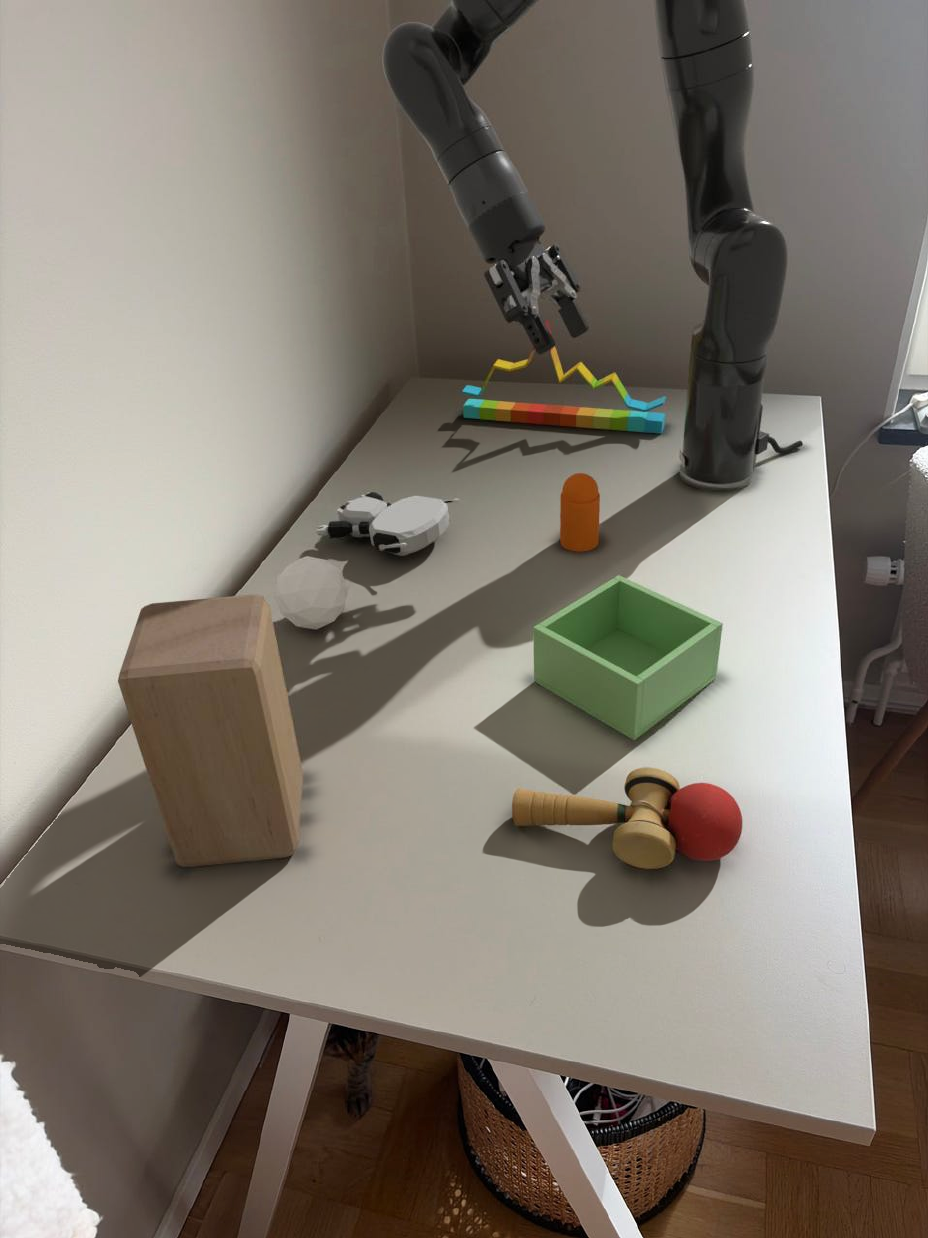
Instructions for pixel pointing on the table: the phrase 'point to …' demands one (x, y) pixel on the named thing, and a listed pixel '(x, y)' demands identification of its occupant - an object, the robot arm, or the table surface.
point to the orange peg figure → (579, 513)
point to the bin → (626, 655)
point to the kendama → (646, 818)
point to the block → (215, 728)
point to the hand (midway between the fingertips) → (565, 342)
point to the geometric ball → (311, 592)
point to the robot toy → (391, 522)
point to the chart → (566, 413)
